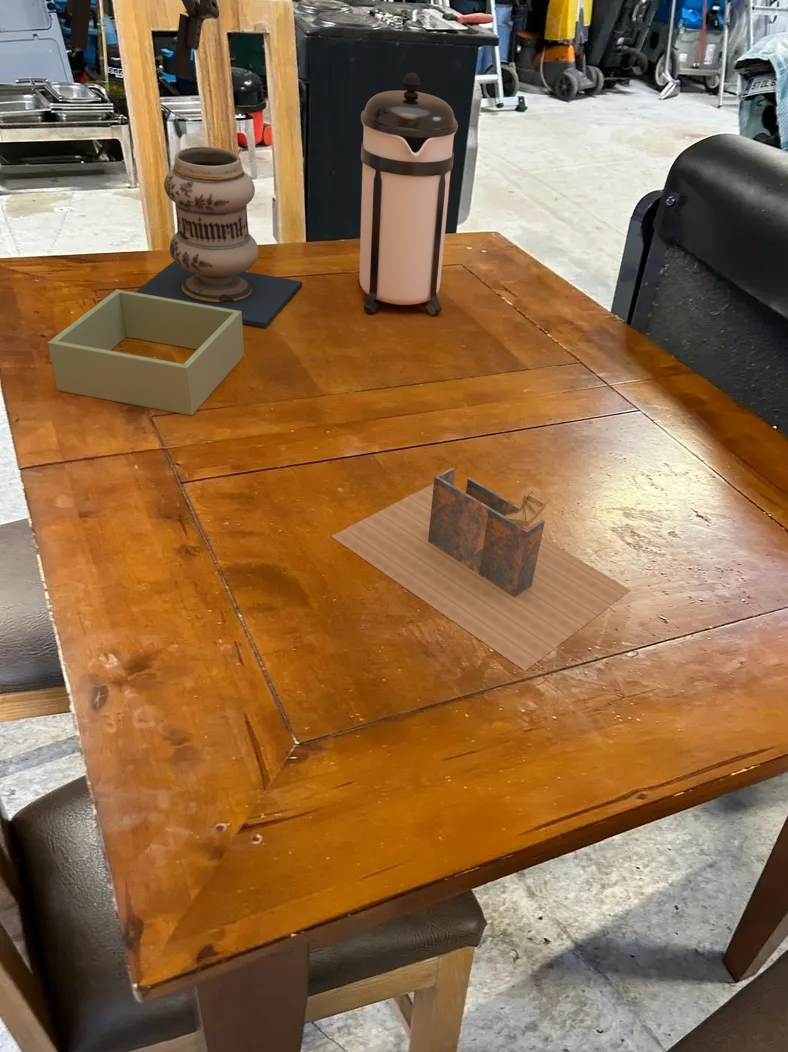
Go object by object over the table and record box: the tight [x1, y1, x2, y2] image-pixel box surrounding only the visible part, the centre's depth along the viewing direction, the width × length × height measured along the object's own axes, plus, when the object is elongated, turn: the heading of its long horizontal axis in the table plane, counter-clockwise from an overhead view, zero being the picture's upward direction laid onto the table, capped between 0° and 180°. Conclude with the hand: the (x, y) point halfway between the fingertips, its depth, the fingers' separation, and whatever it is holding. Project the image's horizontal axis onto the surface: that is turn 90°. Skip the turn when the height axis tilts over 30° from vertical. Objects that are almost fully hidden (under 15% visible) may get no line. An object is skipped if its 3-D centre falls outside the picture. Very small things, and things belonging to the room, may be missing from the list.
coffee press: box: [358, 72, 459, 317], centre depth 124 cm, size 17×16×30 cm
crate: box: [47, 288, 245, 416], centre depth 107 cm, size 17×17×6 cm
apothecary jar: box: [163, 146, 260, 303], centre depth 122 cm, size 12×12×18 cm
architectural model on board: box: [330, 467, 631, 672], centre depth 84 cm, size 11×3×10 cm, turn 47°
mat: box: [134, 260, 303, 329], centre depth 128 cm, size 20×16×1 cm
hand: (129, 62), depth 110 cm, fingers open, 13 cm apart
